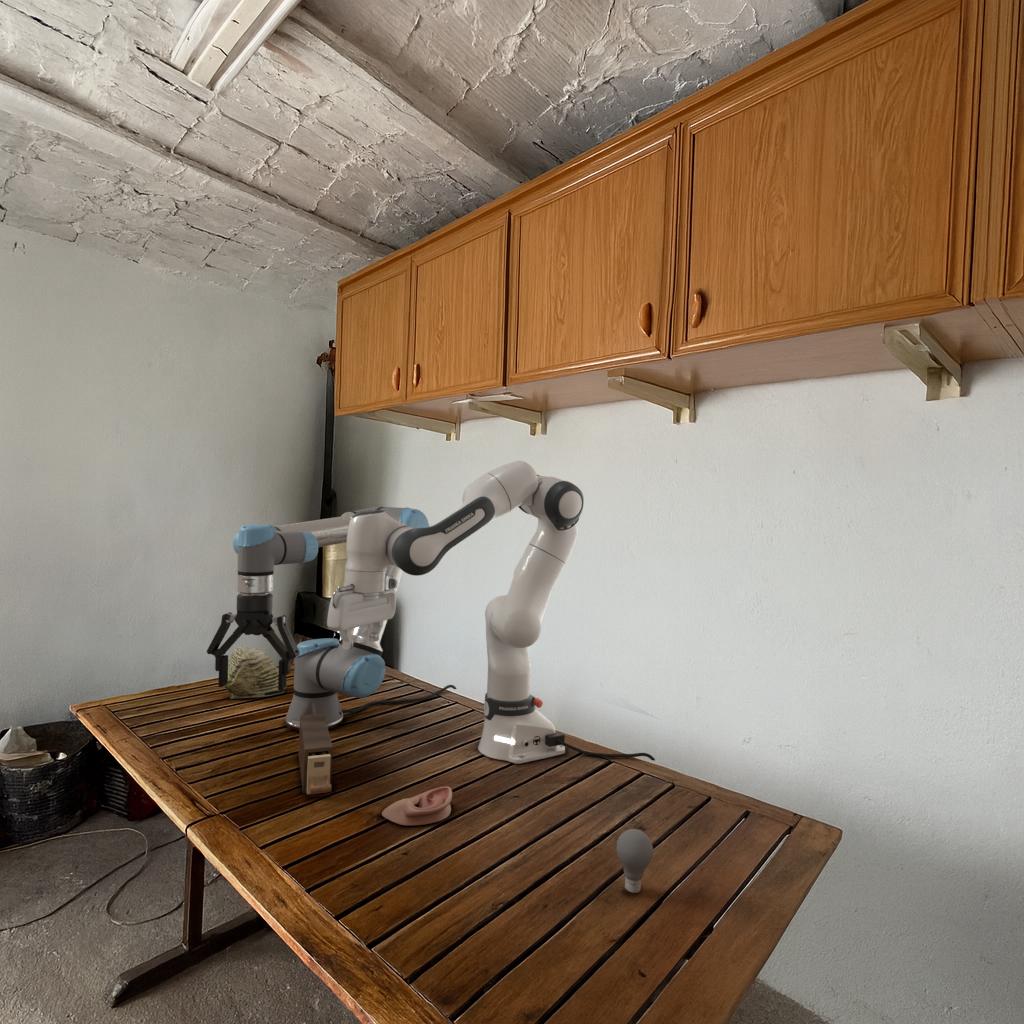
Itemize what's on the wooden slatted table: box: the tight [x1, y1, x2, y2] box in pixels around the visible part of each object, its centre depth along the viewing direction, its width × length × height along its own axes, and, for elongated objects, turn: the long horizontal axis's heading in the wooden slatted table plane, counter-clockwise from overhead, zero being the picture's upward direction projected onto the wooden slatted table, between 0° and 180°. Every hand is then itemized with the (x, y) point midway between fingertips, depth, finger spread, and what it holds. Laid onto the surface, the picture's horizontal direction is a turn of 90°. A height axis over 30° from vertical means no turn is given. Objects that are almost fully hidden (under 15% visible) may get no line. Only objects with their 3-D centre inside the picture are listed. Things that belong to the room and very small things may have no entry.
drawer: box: [306, 751, 333, 795], centre depth 140 cm, size 27×4×8 cm, turn 21°
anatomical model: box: [381, 785, 453, 827], centre depth 129 cm, size 13×4×12 cm
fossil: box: [223, 646, 288, 699], centre depth 198 cm, size 9×18×15 cm, turn 132°
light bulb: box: [615, 828, 654, 894], centre depth 106 cm, size 6×6×10 cm
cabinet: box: [298, 714, 333, 794], centre depth 146 cm, size 22×6×10 cm, turn 21°
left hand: (252, 686), depth 143 cm, fingers open, 13 cm apart
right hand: (361, 644), depth 141 cm, fingers open, 8 cm apart
